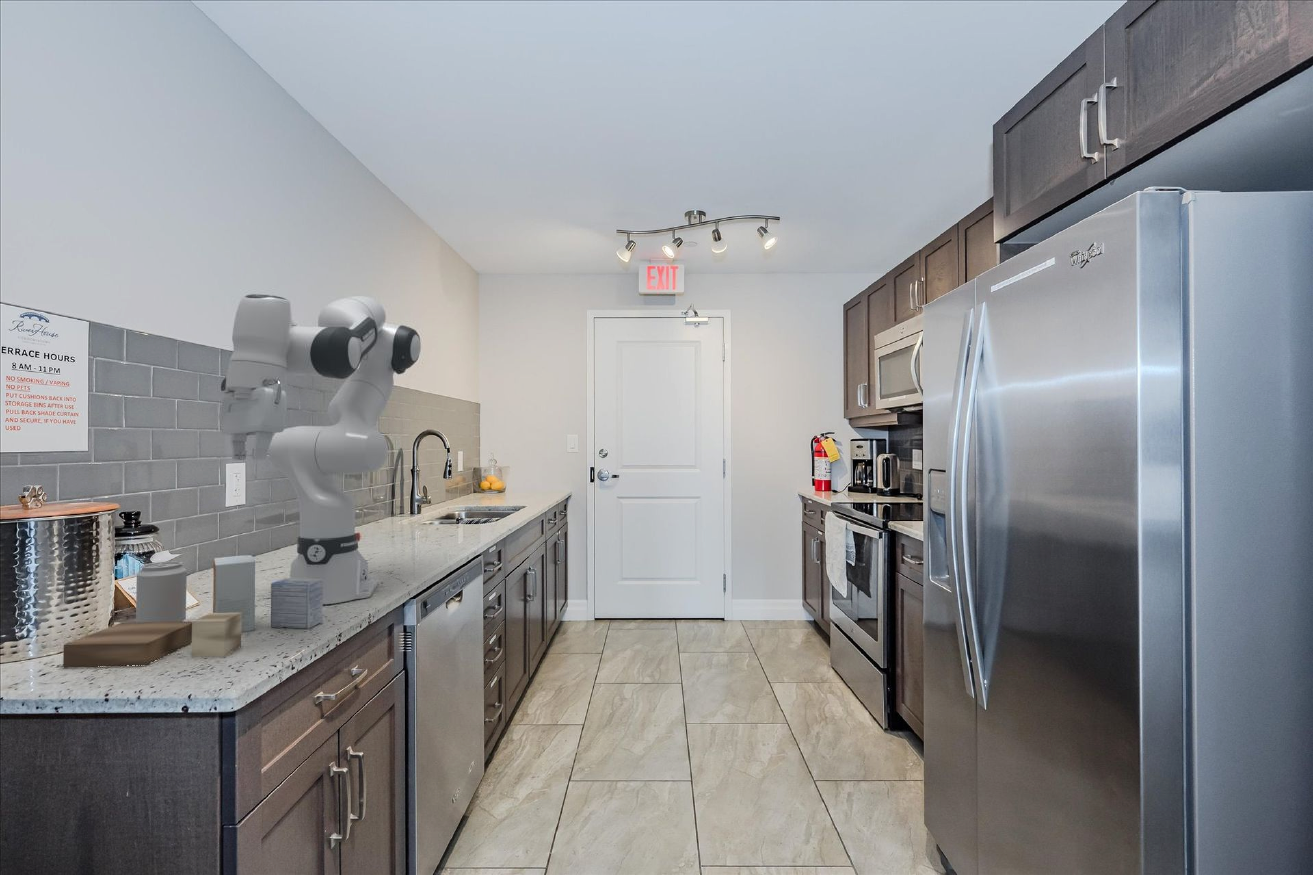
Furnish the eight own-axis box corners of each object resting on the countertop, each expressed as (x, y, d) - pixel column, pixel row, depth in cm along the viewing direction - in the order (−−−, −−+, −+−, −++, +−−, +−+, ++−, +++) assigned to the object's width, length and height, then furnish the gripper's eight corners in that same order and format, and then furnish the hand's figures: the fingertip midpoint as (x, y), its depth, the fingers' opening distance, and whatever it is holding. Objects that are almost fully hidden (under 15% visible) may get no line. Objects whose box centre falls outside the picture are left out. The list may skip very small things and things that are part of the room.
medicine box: (323, 622, 121) (324, 578, 121) (308, 629, 117) (309, 583, 117) (285, 621, 122) (286, 577, 122) (269, 628, 118) (270, 582, 118)
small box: (212, 625, 119) (213, 557, 119) (251, 620, 123) (252, 554, 123) (213, 636, 112) (214, 564, 112) (255, 630, 116) (256, 560, 116)
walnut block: (121, 645, 108) (122, 622, 108) (195, 644, 109) (195, 621, 109) (63, 670, 96) (63, 644, 96) (146, 668, 97) (146, 643, 97)
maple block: (210, 648, 106) (210, 613, 106) (241, 647, 107) (241, 612, 107) (191, 658, 101) (192, 621, 101) (224, 657, 102) (224, 620, 102)
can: (162, 632, 114) (164, 567, 114) (124, 631, 114) (125, 566, 115) (195, 621, 121) (196, 560, 122) (159, 619, 122) (160, 559, 122)
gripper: (301, 380, 106) (292, 460, 105) (255, 390, 119) (247, 461, 118) (260, 373, 101) (250, 457, 100) (216, 384, 114) (207, 458, 113)
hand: (248, 459), depth 109 cm, fingers open, 8 cm apart
